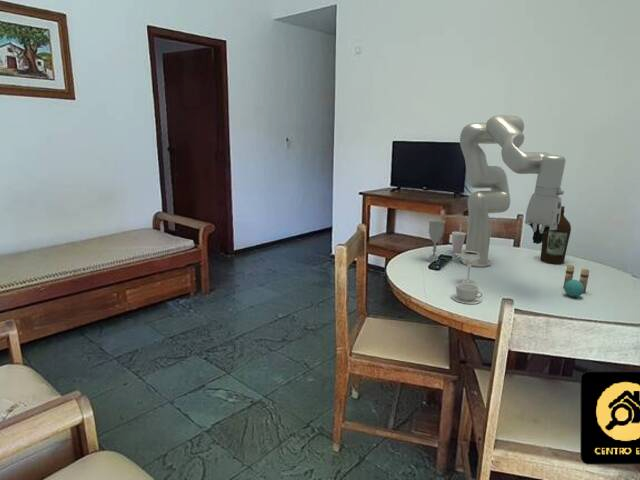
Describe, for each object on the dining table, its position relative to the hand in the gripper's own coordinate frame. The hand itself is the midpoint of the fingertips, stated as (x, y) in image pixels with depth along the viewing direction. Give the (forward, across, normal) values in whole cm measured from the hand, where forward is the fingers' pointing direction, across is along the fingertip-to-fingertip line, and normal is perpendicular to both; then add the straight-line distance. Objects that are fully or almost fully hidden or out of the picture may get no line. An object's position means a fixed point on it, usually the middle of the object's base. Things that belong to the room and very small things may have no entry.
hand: (537, 242), depth 151 cm
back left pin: (+18, -8, -13) cm, 23 cm away
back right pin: (+18, -13, -13) cm, 25 cm away
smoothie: (+20, +44, -20) cm, 52 cm away
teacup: (+18, +8, +27) cm, 34 cm away
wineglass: (+19, +18, +12) cm, 28 cm away
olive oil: (+19, +10, -43) cm, 48 cm away
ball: (+14, -13, -6) cm, 20 cm away
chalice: (+20, +42, 0) cm, 47 cm away
